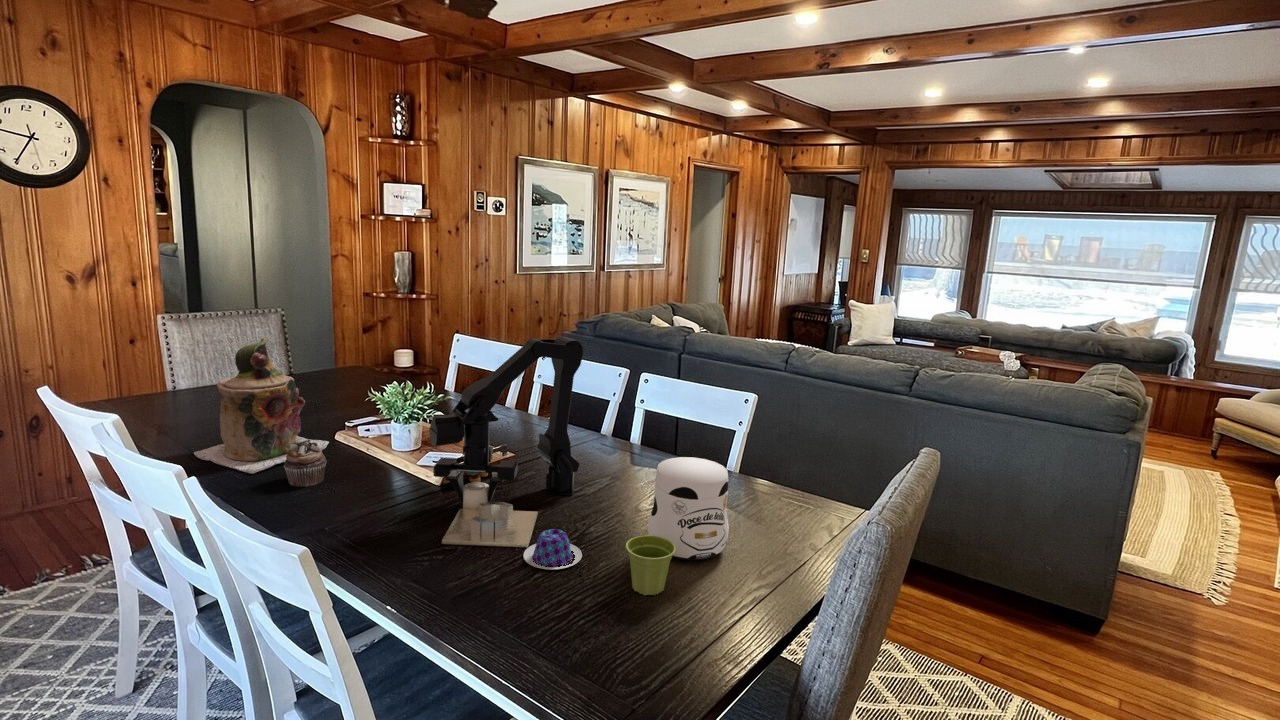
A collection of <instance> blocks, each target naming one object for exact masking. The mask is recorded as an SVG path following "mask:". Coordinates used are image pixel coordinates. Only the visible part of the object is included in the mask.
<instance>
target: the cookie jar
mask: <svg viewBox="0 0 1280 720" xmlns="http://www.w3.org/2000/svg"><path fill="white" fill-rule="evenodd" d="M266 345H267V340H266V338H264V337H262V338H261V339H260V341H259V342H255V343H253V344H249V345H248V344H247V345H245V346H242V347H241V348H240V349H238V351H237V352H236V353H235V358H234V360H235V361H234V362H235V366H236V367H237V370H238V374H237V375H236V376H230V377H227V378H224V379H222V380H220V381H219V382H217V384H216V388H217V390H218V391H219V393H220V394H221V398H220V402H221V403H220V415H219V421H220V422H219V429H220V436H221V437H220V438H221V440H222V442H223V443H222V444H217V445H215V446H210V447H209V448H203V449H202V450H197V451H193V454H194V456H195V457H196V458H198V459H200V460H202V461H209V462H212V463H214V464H215V465H216V464H217V465H220V466H223V467H226V468H230V469H235V470H237V471H241V472H244V473H248V474H256V473H257V472H261V471H264V470H266V469H269V468H271V467H274V466H276V465H278V464H282V463H285V461H286V460H287V459H286V456H287V454H288V453H289V451H290V450H291V449H290V445H292V444H294V443H300V442H302V441H307V440H309V439H308V438H305V437H301V436H298V435H299V433H300V432H301V428H302V427H301V425H302V424H301V417H300V413H301V411H302V409H303V408H304V406H305V404H306V400H305V399H304V398H303V397H302V396H301V397H300V396H299V393H300V389H299V388H298V387H297V385H296V382H295V378H293V377H292V376H288V375H286V374H284V373H283V372H281V371H280V370H279V369H277V368H275V366H274V365H273V364H272V363H271V361H270V357H269V353H268V349H267V346H266ZM310 440H311V442H313V443H314V442H315V443H317V445H319V446H321V449H320V450H321V451H323V450H325V449H326V448H327V446H328V444H329V443H330V442H329V441H327V440H320V439H310Z"/></svg>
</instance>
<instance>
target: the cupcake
mask: <svg viewBox="0 0 1280 720" xmlns="http://www.w3.org/2000/svg"><path fill="white" fill-rule="evenodd" d="M311 440H312V439H308V440H307V441H302V442H300V443H294V444H292V445H290V449H291V450H290V451H289V453H288V454H287V456H286V459H287V460H286V461H285V462H284V464H283V468H284V470H285V474H286V478H287V480H288V484H289V485H290V486H293V487H296V488H297V487H298V488H304V487H312V486H316V485H318V484H320V483H322V482H324V479H325V471H326V466H327V465H326V464H327V461H328V460H327V459H326V456H325V455H324V454H323V450H320V449H321V446H319V445H317V443H315V442H314V443H313V442H311Z"/></svg>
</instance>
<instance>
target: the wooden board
mask: <svg viewBox="0 0 1280 720" xmlns="http://www.w3.org/2000/svg"><path fill="white" fill-rule="evenodd" d="M538 515H539V514H538V511H531V510H528V511H527V510H514V505H513V504H511V503H509V502H504V501H492V500H491V502H485V503H479V509H466V508H463V507H462V508H461V507H460V508H459V510H458V512H457V513H456V515H455V517H454V519H453V521H452V522H451V523H450V526H449V527H448V529H447V531H446V533H445V534H444V536H443V537H442V539H441V544H442V545H460V546H461V545H462V546H463V545H464V546H486V547H487V546H488V547H513V548H528V547H529V545H530V541H531V538H532V535H533V531H534V528H535V525H536V521H537V518H538Z"/></svg>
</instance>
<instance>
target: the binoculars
mask: <svg viewBox="0 0 1280 720" xmlns="http://www.w3.org/2000/svg"><path fill="white" fill-rule="evenodd" d="M461 462H464V456H463V457H459V458H456V463H461ZM488 475H489V473H478V472H467V473H465V472H463V480H469V481H470V483H472V482H481V477H484V478H485V477H487V476H488Z"/></svg>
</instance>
